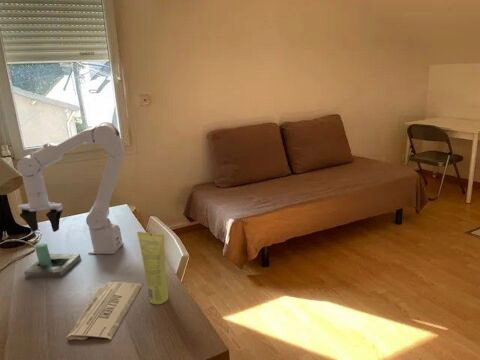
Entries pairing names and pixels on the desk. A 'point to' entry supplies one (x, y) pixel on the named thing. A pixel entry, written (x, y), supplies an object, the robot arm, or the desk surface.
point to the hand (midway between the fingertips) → (45, 230)
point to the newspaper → (105, 311)
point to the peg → (43, 255)
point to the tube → (154, 266)
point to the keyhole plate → (54, 272)
